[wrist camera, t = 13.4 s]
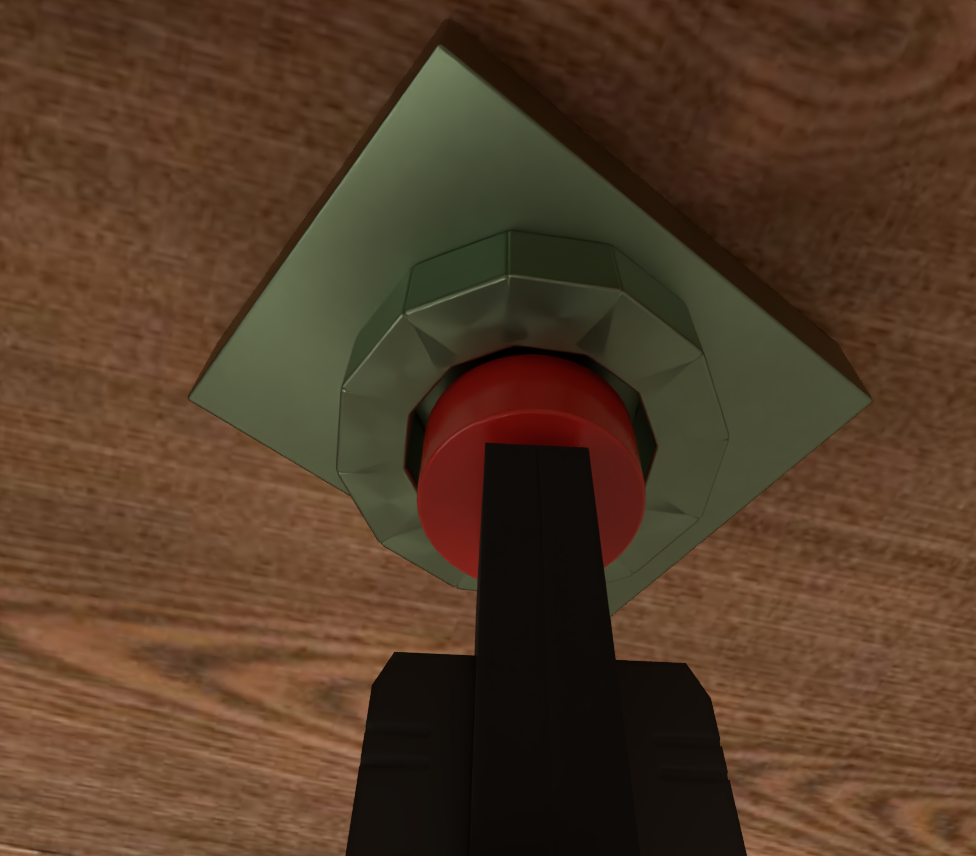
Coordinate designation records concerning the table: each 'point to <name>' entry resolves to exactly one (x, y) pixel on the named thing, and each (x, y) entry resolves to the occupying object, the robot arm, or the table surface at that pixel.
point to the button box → (518, 316)
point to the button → (533, 421)
